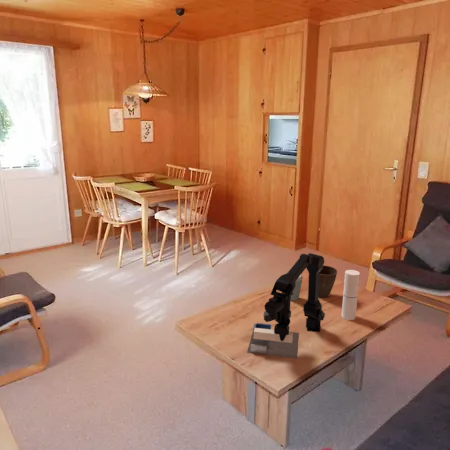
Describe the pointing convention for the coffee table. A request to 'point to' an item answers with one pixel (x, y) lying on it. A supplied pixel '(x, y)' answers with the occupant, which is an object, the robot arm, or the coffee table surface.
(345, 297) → the cylindrical container
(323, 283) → the plant pot
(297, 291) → the disposable coffee cup
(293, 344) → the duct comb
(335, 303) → the coffee table surface
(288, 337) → the long cream bar
